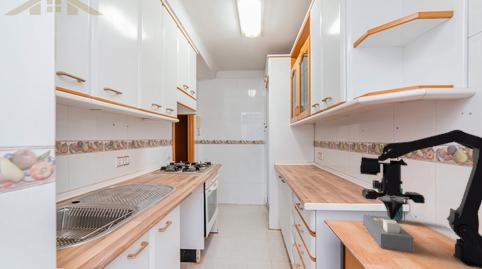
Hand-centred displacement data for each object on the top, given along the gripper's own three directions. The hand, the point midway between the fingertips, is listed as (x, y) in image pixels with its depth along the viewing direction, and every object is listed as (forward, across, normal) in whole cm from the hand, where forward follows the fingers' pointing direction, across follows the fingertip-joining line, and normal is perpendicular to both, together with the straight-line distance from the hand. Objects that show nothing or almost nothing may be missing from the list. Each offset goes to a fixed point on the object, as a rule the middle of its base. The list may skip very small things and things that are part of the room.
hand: (391, 219), depth 83 cm
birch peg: (+9, 0, -12) cm, 15 cm away
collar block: (+9, 0, -6) cm, 11 cm away
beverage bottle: (+9, -12, -29) cm, 33 cm away
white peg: (+6, 0, 0) cm, 6 cm away
